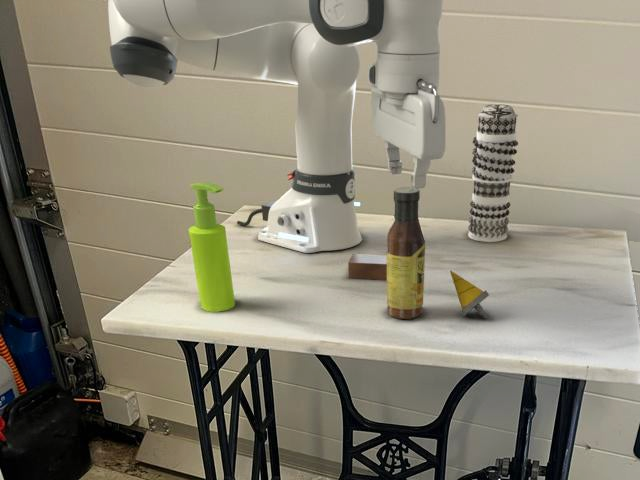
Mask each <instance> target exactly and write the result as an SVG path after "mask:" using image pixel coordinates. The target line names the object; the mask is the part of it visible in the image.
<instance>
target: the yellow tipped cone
mask: <svg viewBox="0 0 640 480" xmlns="http://www.w3.org/2000/svg"><path fill="white" fill-rule="evenodd" d="M450 276H451V279H452V282H453V285H454V288H455V292H456V294H457V298H458V301H459V304H460V307H461V310H460V312H461V314H462V315H463V316H466V315H467V314H468V313H470V312H471V311H472V310H475V311H476V313H478V314H479V316H481V317H482V318H484V319H488V318H487V312H485V309H484V308H483V306H482V305H481V303H482V302H484V300H486V299H487V298H488V297H489V296H490V294H489V292H488V291H487V290H482V289H481V288H479V287H478V286H476V285H475V284H473V283H471V282H470V281H468V280H467V279H465V278H464V277H461V275H459V274H457V273H455V272H454V271H452V270H450Z"/></svg>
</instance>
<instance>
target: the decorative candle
mask: <svg viewBox="0 0 640 480" xmlns="http://www.w3.org/2000/svg"><path fill="white" fill-rule="evenodd" d="M476 115H477V117H478V121H477V130H476V136H474V137H473V138H472V144H473V146H474V148H473V149H472V155H473V156H472V159H471V162H472V165H473V167H472V168H471V169H472V170H471V173H472V177H471V178H472V180H474V181H473V191H472V193H471V196H472V197H471V201H470V203H469V205H470V207H471V208H470V209H469V213H470V215H471V216H470V217H469V218H468V222H469V225H468V226H467V227H468V228H467V229H468V235H467V236H468V238H470V239H471V240H474V241H476V242H477V241H479V242H485V243H494V242H495V243H496V242H501V241H504V240H506V239H507V238H508V235H507V232H508V230H509V227H508V225H509V222H510V220H509V218H508V216H509V214H510V210H509V208H510V207H511V203H510V197H511V196H510V195H511V194H510V187H511V181H513V179H514V177H513V175H512V174H513V173H515V169H514V168H513V166H515V165H516V161H515V159H513V156H515V155H516V154H517V153H518V150H517V149H516V148H515V147H517V146H518V145H519V142H518V140H516V137H517V131H516V126H517V119H518V117H519V115H518V113H516V112H515V110H514V108H513V106H511V105H509V104H499V103H498V104H496V103H494V104H486V105H484V106H483V107H482V109H481V110H480V112H479V113H476Z"/></svg>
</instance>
